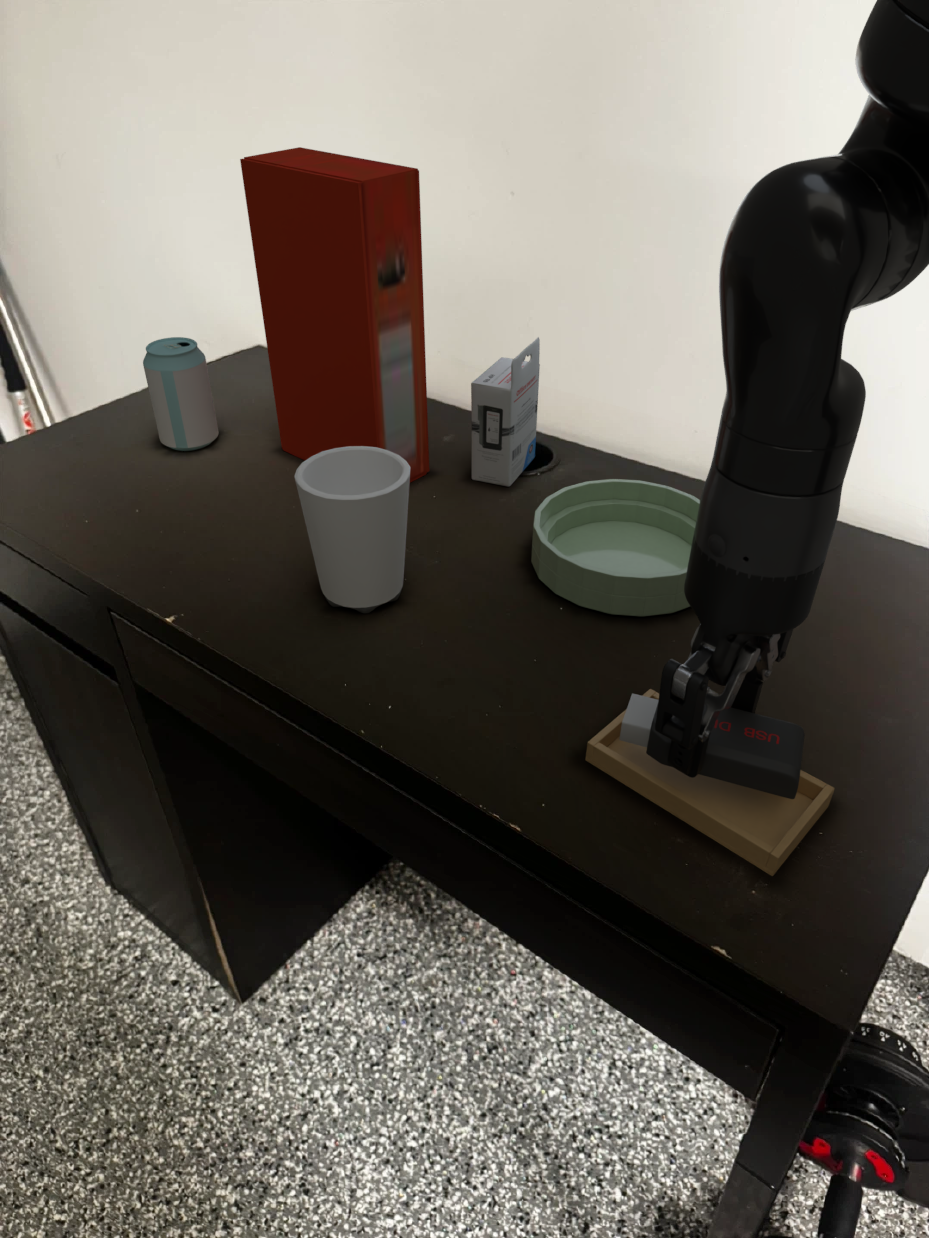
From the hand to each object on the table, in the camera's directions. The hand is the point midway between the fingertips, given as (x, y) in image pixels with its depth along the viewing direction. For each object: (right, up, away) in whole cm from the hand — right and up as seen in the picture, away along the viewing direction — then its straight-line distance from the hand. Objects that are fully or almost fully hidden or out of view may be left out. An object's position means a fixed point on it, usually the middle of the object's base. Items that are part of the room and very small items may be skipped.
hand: (711, 741), depth 62 cm
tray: (0, -3, +3) cm, 4 cm away
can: (-51, +30, +48) cm, 76 cm away
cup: (-27, +11, +22) cm, 36 cm away
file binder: (-30, +27, +43) cm, 59 cm away
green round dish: (-1, +14, +26) cm, 29 cm away
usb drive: (0, -1, +1) cm, 1 cm away
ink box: (-13, +26, +42) cm, 51 cm away
